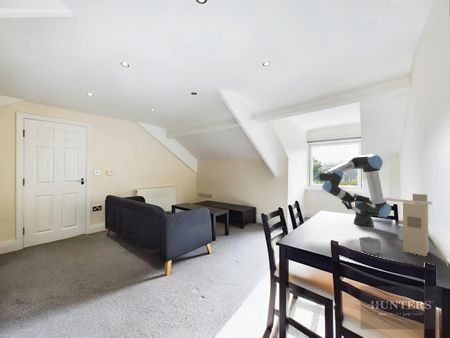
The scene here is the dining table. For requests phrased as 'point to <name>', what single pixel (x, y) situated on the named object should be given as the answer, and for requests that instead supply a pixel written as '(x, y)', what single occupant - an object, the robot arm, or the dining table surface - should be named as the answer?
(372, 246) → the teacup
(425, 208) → the carton
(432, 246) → the dining table surface
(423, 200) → the flap strip
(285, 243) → the dining table surface
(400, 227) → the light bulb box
